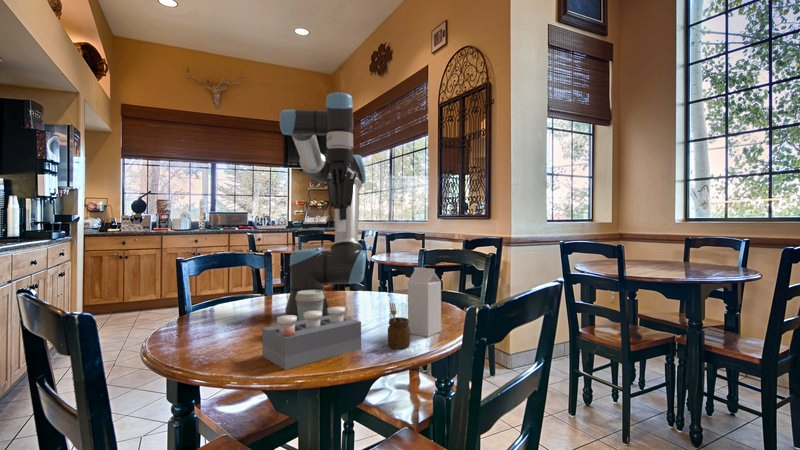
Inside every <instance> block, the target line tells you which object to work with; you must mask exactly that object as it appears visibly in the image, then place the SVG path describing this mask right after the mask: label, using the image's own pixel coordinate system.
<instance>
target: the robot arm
mask: <svg viewBox="0 0 800 450" xmlns="http://www.w3.org/2000/svg"><path fill="white" fill-rule="evenodd" d="M325 108H326V109H323V110H322V109H294V108H293V109H283V110H281V112H280V113H279V128H280V131H281V133H282V135H285V136H286V135H287V136H291V138H292V140H293V142H294V145H295V148H296V150H297V153H298V155H299V166H300V169H301V170H302V171H303V173H305V175H306V176H308V177H309V178H310V179H312V180H314V181H316V182H319V183H321V184H326V187H327V189H326V190H327V194H328V195H327V196H328V201H329V202H328V203H329V207H332V208H333V209H334V242H333V243H332V244H331V245H330V250H325V249H324V247H323V246H320V247H311V248H310V247H309V248H303V249H299V250H295V251H292V252H291V254H290V256H289V257H290V258H289V278H290V279H289V280H290V282H289V284H290V285H289V288H290V289H289V290H290V292H289V296H288V300H287V303H286V305H285V309H284V311H285V315H295V316H297V320H299V319H298V311H297V302H296V300H295V298H296V295H297V292H299V291H303V290H321V291H323V294H324V297H325V298H324V299H323V310H322V316H327V315H330V314H329V313H328V308H330V305H329V302H328V299H327V296H326V294H325V285H337V284H338V285H341V284H342V285H344V284H345V285H347V284H349V285H352V284H360V283H362V282H363V281H364V277H365V270H366V261H367V250H363V245H362V244H361V243H359V190H360V189H362V187H363V185H364V184H365V183H366V171H365V164H364V159H363V157H362V155H360V154H354V151H353V149H354V133H353V132H354V130H353V129H354V128H355V127H354V126H355V123H354V114H353V112H354V110H353V109H354V103H353V97H352V95H351V94H349V93H345V92H333V93H332V92H331V93H329V94H327V96H326V102H325ZM317 136H325V137H326V148H327V150H326V153H324V154H323V153H322V152H321V150H320V146H319V141H318V138H317Z"/></svg>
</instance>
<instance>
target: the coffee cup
mask: <svg viewBox="0 0 800 450" xmlns="http://www.w3.org/2000/svg"><path fill="white" fill-rule="evenodd" d="M324 298H325V297H324V294H323V291H321V290H303V291H299V292H297V295H296V298H295V300H296V302H297V311H298V319H297V320H298V321H301V320H306V318H304V317H303V313H304V312H307V311H322V310H323V299H324Z"/></svg>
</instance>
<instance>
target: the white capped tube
mask: <svg viewBox="0 0 800 450" xmlns="http://www.w3.org/2000/svg"><path fill="white" fill-rule="evenodd" d="M297 321H298V319H297V316H295V315H281V316H278V317H276V324H278V325H279V333H281V334H284V330H285V329H288V328H293V329H295V322H297Z"/></svg>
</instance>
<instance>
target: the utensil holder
mask: <svg viewBox="0 0 800 450" xmlns="http://www.w3.org/2000/svg"><path fill="white" fill-rule="evenodd" d="M403 305H404V306H405V311H403V313H402V314H403V315H404V316H400V313H397V309H398V311H399V312H402V310H403V309H402V308H396V304H395V303H393V302H389V309H390V314H391V315H393V317H391V318H390V319H388V320H389V321H388V327H387V346H388V347H389V348H391V349H394V350H404V349H408V348H410V346H411V333H410V328H409V326H408V324H409V321H408V317H406V316H407V314H408V304H406V303H404V302H403V303H400V306H403ZM397 314H398V317H396V315H397Z"/></svg>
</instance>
